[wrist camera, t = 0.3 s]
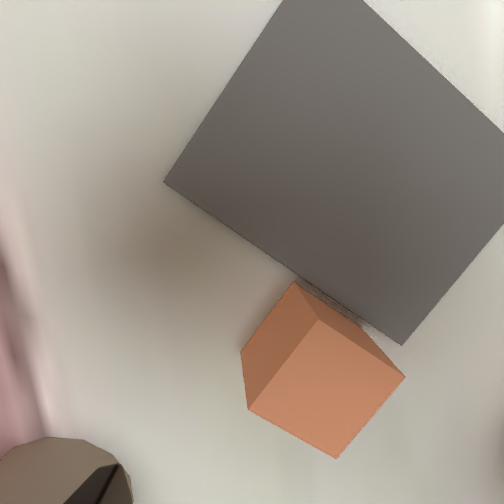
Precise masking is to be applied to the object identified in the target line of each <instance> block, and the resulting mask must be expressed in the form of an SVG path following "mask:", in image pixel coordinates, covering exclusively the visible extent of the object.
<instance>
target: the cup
mask: <svg viewBox="0 0 504 504" xmlns="http://www.w3.org/2000/svg"><path fill="white" fill-rule="evenodd" d="M114 463H119V462H118V461H117V460H116V459H115V457H114V456H113V455H112V454H111V453H109V452H107V451H105V450H103V449H100V448H98V447H96V446H94V445H92V444H90V443H88V442H86V441H84V440H79V439H67V438H55V437H46V438H43V439H40V440H36V441H33V442H29V443H26V444H23V445H19V446H16V447H15V448H13V449H12V450H11V451H10V452H9V453H8V454H6V455H5V456H4V457H3V458H2V459H1V460H0V504H63V503H64V502H65V501H66V500H67V499H68V498H69V497H70V496H71V495H72V494H73V493H74V492H75V491H76V490H77V489H78V488H79V486H80V485H81V484H82V483H83V482H84V481H85V480H86V479H87V478H88V477H89V476H90V475H91V474H92V473H93V472H94V471H95V470H96V469H97V468H99V467H101V466H104V465H109V464H114ZM124 472H125V475H126V478H127V482H128V485H129V488H130V492H131V495H132V488H131V481H130V476H129V475H128V474H127V472H126V471H125V470H124ZM132 502H133V495H132Z"/></svg>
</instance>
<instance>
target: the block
mask: <svg viewBox="0 0 504 504" xmlns="http://www.w3.org/2000/svg"><path fill="white" fill-rule="evenodd" d="M240 353H241V361H242V368H243V376H244V383H245V391H246V399H247V406H248V410H249V411H251V412H253V413H255V414H257V415H258V416H260V417H262V418H264V419H265V420H267V421H269V422H271V423H273V424H274V425H276V426H278V427H280V428H281V429H283V430H285V431H287V432H289V433H290V434H292V435H294V436H296V437H298V438H299V439H301V440H303V441H305V442H306V443H308V444H310V445H312V446H314V447H315V448H317V449H319V450H321V451H322V452H324V453H326V454H328V455H330V456H331V457H333V458H335V459H337V458H338V456H339V455H340V454H341V453H342V452H343V450H344V449H345V448H346V447H347V446H348V445H349V443H350V442H351V441H352V440H353V439H354V437H355V436H356V435H357V434H358V433H359V432H360V430H361V429H362V428H363V427H364V426H365V424H366V423H367V422H368V421H369V420H370V419H371V417H372V416H373V415H374V414H375V413H376V411H377V410H378V409H379V408H380V407H381V406H382V404H383V403H384V402H385V401H386V400H387V398H388V397H389V396H390V395H391V394H392V393H393V391H394V390H395V389H396V388H397V387H398V385H399V384H400V383H401V382H402V381H403V380H404V378H405V376H404V375H403V374H402V372H401V371H400V370H399V369H398V368H397V367H396V366H395V365H394V364H393V362H392V361H391V360H390V359H389V358H388V357H387V356H386V355H385V353H384V352H383V351H382V350H381V349H380V348H379V347H378V346H377V345H376V343H375V342H374V341H373V340H372V339H371V338H370V337H369V336H368V335H367V333H366V332H365V331H364V330H363V329H362V328H361V327H359V326H358V325H356V324H355V323H353V322H352V321H351V320H349V319H348V318H346V317H345V316H343V315H342V314H340V313H339V312H337V311H336V310H334V309H333V308H331V307H330V306H328V305H327V304H326V303H324V302H323V301H321V300H320V299H318V298H317V297H315V296H314V295H312V294H311V293H309V292H308V291H306V290H305V289H303V288H302V287H300V286H299V285H298V284H296V283H295V282H293V283H292V284H291V286H290V287H289V288H288V290H287V291H286V292H285V294H284V295H283V296H282V298H281V299H280V300H279V302H278V303H277V304H276V305H275V307H274V308H273V309H272V311H271V312H270V313H269V315H268V316H267V317H266V319H265V320H264V321H263V323H262V324H261V325H260V327H259V328H258V329H257V331H256V332H255V333H254V335H253V336H252V337H251V339H250V340H249V341H248V343H247V344H246V345H245V347H244V348H243V349H242V351H241V352H240Z"/></svg>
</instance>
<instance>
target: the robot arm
mask: <svg viewBox="0 0 504 504" xmlns="http://www.w3.org/2000/svg"><path fill="white" fill-rule="evenodd" d="M63 504H133V502H132V495H131V492H130V488H129V485H128V482H127V478H126V475H125V472H124V469H123V467H122V465H121V464H119V463H114V464H109V465H104V466H101V467H99V468H97V469H96V470H95V471H94V472H93V473H92V474H91V475H90V476H89V477H88V478H87V479H86V480H85V481H84V482H83V483H82V484H81V485H80V486H79V488H78V489H77V490H76V491H75V492H74V493H73V494H72V495H71V496H70V497H69V498H68V499H67V500H66V501H65V502H64V503H63Z"/></svg>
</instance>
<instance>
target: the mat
mask: <svg viewBox="0 0 504 504" xmlns="http://www.w3.org/2000/svg"><path fill="white" fill-rule="evenodd" d="M163 182H164V183H165V184H167V185H168V186H170V187H171V188H173V189H174V190H175V191H177V192H178V193H180V194H181V195H183V196H184V197H186V198H187V199H189V200H190V201H191V202H193V203H194V204H196V205H197V206H199V207H200V208H202V209H203V210H205V211H206V212H208V213H209V214H210V215H212V216H213V217H215V218H216V219H218V220H219V221H221V222H222V223H224V224H225V225H226V226H228V227H229V228H231V229H232V230H234V231H235V232H237V233H238V234H240V235H241V236H242V237H244V238H245V239H247V240H248V241H250V242H251V243H253V244H254V245H256V246H257V247H258V248H260V249H261V250H263V251H264V252H266V253H267V254H269V255H270V256H272V257H273V258H274V259H276V260H277V261H279V262H280V263H282V264H283V265H285V266H286V267H288V268H289V269H290V270H292V271H293V272H295V273H296V274H298V275H299V276H301V277H302V278H304V279H305V280H306V281H308V282H309V283H311V284H312V285H314V286H315V287H317V288H318V289H320V290H321V291H322V292H324V293H325V294H327V295H328V296H330V297H331V298H333V299H334V300H336V301H337V302H339V303H340V304H341V305H343V306H344V307H346V308H347V309H349V310H350V311H352V312H353V313H355V314H356V315H357V316H359V317H360V318H362V319H363V320H365V321H366V322H368V323H369V324H371V325H372V326H373V327H375V328H376V329H378V330H379V331H381V332H382V333H384V334H385V335H387V336H388V337H389V338H391V339H392V340H394V341H395V342H397V343H398V344H400V345H401V346H402V345H403V344H404V343H405V341H406V340H407V339H408V338H409V337H410V335H411V334H412V333H413V332H414V331H415V329H416V328H417V327H418V326H419V325H420V323H421V322H422V321H423V320H424V319H425V317H426V316H427V315H428V314H429V313H430V311H431V310H432V309H433V308H434V307H435V305H436V304H437V303H438V302H439V300H440V299H441V298H442V297H443V296H444V294H445V293H446V292H447V291H448V290H449V288H450V287H451V286H452V285H453V284H454V282H455V281H456V280H457V279H458V278H459V276H460V275H461V274H462V273H463V272H464V270H465V269H466V268H467V267H468V266H469V264H470V263H471V262H472V261H473V260H474V258H475V257H476V256H477V255H478V254H479V252H480V251H481V250H482V249H483V248H484V246H485V245H486V244H487V243H488V242H489V240H490V239H491V238H492V237H493V236H494V234H495V233H496V232H497V231H498V230H499V228H500V227H501V226H502V225H503V224H504V133H503V132H502V131H501V130H500V129H499V128H498V127H497V126H496V125H494V124H493V123H492V122H491V121H490V120H489V119H488V118H487V117H486V116H485V115H484V114H483V113H482V112H481V111H480V110H479V109H478V108H476V107H475V106H474V105H473V104H472V103H471V102H470V101H469V100H468V99H467V98H466V97H465V96H464V95H463V94H462V93H461V92H460V91H458V90H457V89H456V88H455V87H454V86H453V85H452V84H451V83H450V82H449V81H448V80H447V79H446V78H445V77H444V76H443V75H441V74H440V73H439V72H438V71H437V70H436V69H435V68H434V67H433V66H432V65H431V64H430V63H429V62H428V61H427V60H426V59H425V58H423V57H422V56H421V55H420V54H419V53H418V52H417V51H416V50H415V49H414V48H413V47H412V46H411V45H410V44H409V43H408V42H406V41H405V40H404V39H403V38H402V37H401V36H400V35H399V34H398V33H397V32H396V31H395V30H394V29H393V28H392V27H391V26H390V25H388V24H387V23H386V22H385V21H384V20H383V19H382V18H381V17H380V16H379V15H378V14H377V13H376V12H375V11H374V10H373V9H372V8H370V7H369V6H368V5H367V4H366V3H365V2H364V1H363V0H283V1H282V3H281V4H280V6H279V7H278V9H277V10H276V12H275V13H274V15H273V16H272V18H271V19H270V21H269V22H268V24H267V25H266V27H265V28H264V30H263V31H262V33H261V34H260V36H259V37H258V39H257V40H256V42H255V44H254V45H253V47H252V48H251V50H250V51H249V53H248V54H247V56H246V57H245V59H244V60H243V62H242V63H241V65H240V66H239V68H238V69H237V71H236V72H235V74H234V75H233V77H232V78H231V80H230V81H229V83H228V84H227V86H226V87H225V89H224V90H223V92H222V93H221V95H220V96H219V98H218V99H217V101H216V102H215V104H214V105H213V107H212V108H211V110H210V112H209V113H208V115H207V116H206V118H205V119H204V121H203V122H202V124H201V125H200V127H199V128H198V130H197V131H196V133H195V134H194V136H193V137H192V139H191V140H190V142H189V143H188V145H187V146H186V148H185V149H184V151H183V152H182V154H181V155H180V157H179V158H178V160H177V161H176V163H175V164H174V166H173V167H172V169H171V170H170V172H169V173H168V175H167V176H166V178H165V180H164V181H163Z"/></svg>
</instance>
